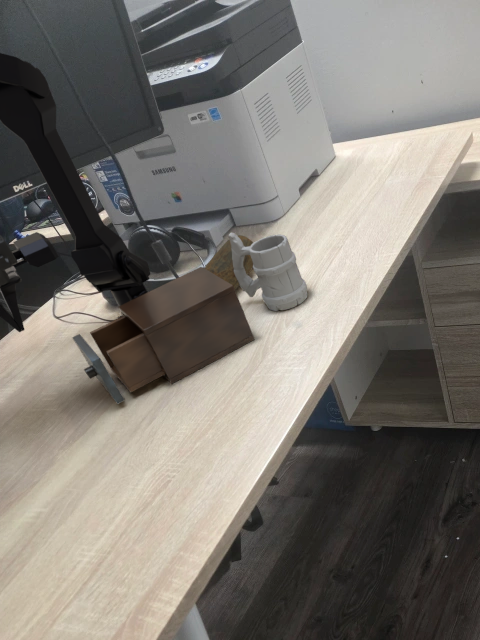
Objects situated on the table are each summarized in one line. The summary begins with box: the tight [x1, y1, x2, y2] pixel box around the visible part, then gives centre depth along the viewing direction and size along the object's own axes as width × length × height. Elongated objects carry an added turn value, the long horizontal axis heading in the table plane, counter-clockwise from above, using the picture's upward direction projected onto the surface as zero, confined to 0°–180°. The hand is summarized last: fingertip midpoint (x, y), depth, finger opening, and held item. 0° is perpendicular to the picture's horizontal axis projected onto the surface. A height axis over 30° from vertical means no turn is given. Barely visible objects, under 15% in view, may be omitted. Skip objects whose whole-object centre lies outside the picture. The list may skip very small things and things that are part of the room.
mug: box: [228, 232, 308, 312], centre depth 106 cm, size 8×12×12 cm, turn 73°
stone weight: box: [203, 235, 254, 291], centre depth 117 cm, size 15×7×7 cm, turn 168°
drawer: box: [72, 315, 165, 405], centre depth 98 cm, size 15×11×7 cm
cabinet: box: [117, 266, 255, 384], centre depth 101 cm, size 15×13×9 cm
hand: (21, 330), depth 92 cm, fingers closed
